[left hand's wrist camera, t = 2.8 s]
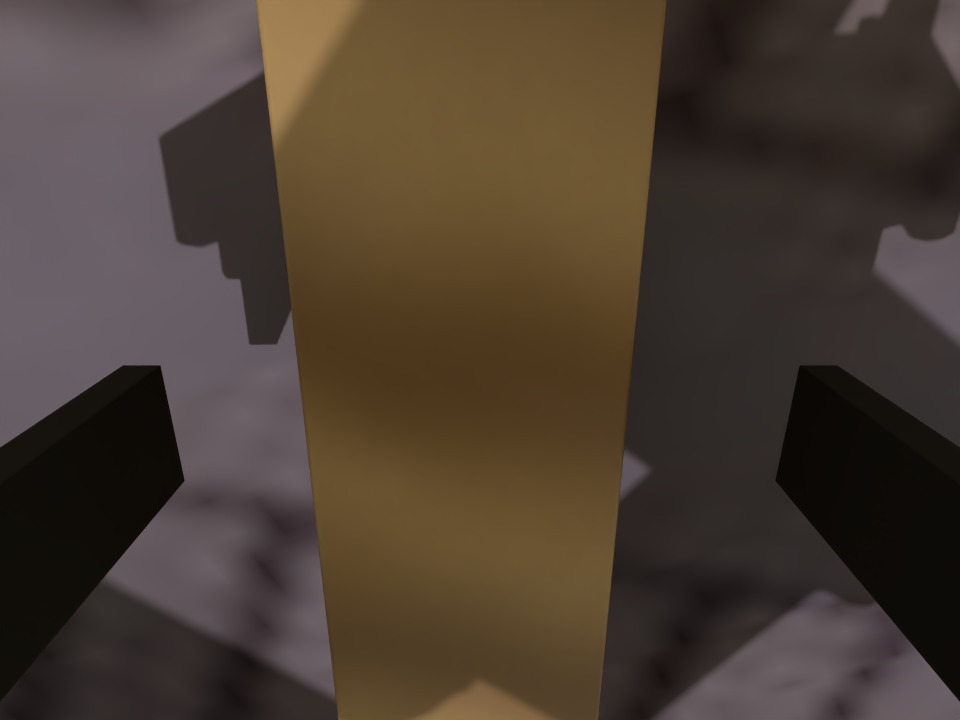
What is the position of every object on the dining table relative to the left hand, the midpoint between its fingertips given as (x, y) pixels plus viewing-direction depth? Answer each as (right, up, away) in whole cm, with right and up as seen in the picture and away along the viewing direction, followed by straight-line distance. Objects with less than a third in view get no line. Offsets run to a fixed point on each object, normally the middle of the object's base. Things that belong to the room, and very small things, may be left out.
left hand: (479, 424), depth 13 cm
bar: (0, +33, -8) cm, 34 cm away
